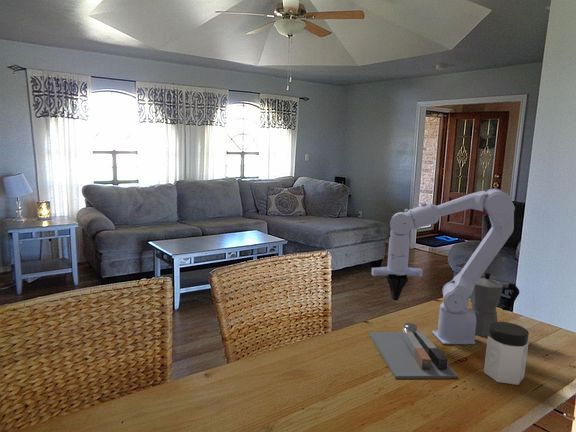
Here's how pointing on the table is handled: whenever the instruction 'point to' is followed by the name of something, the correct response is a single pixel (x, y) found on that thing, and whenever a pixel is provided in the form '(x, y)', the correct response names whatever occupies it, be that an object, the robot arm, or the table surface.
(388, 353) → the slate mat
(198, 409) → the table surface
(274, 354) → the table surface
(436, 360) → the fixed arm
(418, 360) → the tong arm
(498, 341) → the jar
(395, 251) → the robot arm
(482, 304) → the coffeepot
